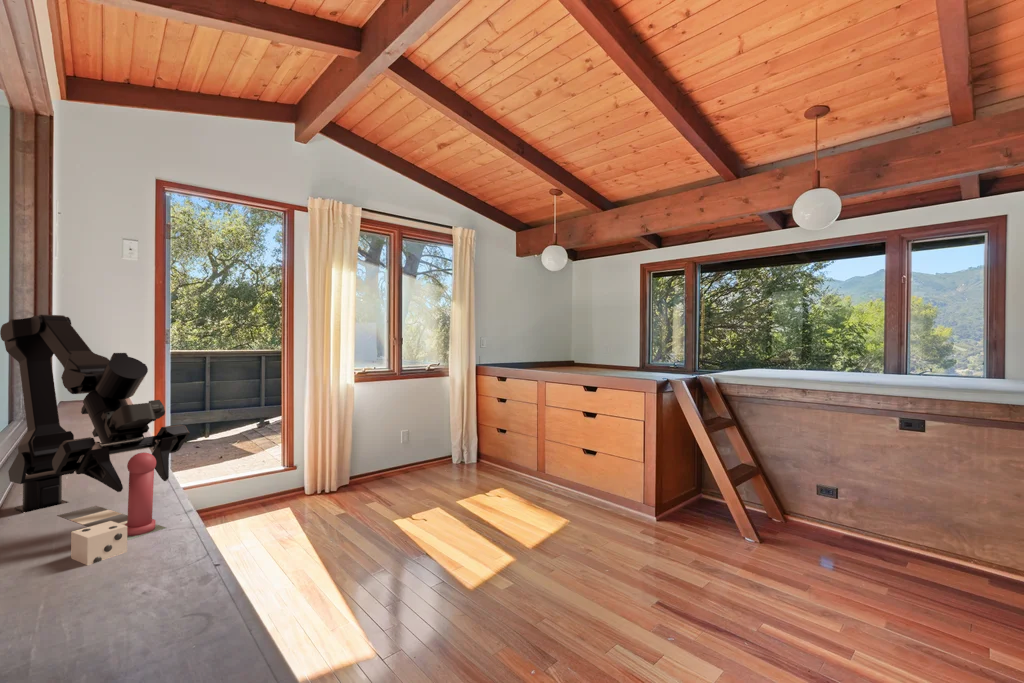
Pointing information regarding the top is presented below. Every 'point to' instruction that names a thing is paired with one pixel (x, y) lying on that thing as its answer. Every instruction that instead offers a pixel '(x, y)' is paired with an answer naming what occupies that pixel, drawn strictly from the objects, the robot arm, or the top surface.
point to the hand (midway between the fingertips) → (144, 484)
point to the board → (101, 518)
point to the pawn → (140, 494)
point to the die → (98, 542)
